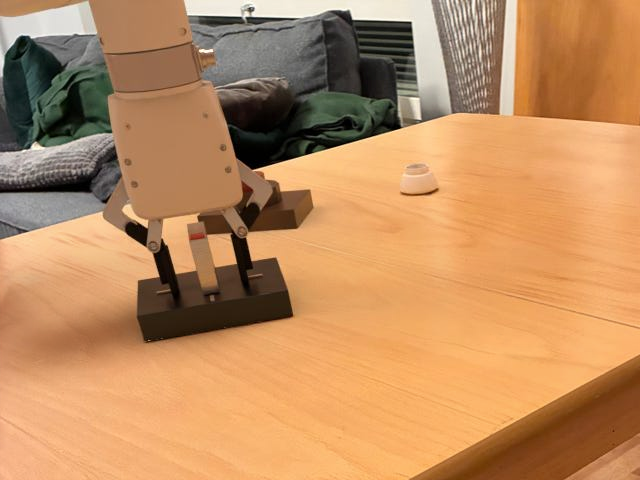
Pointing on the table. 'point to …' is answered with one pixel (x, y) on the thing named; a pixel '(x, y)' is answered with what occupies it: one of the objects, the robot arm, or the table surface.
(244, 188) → the button
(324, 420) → the table surface
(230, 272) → the lever switch base
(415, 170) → the white jar
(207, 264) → the grey switch lever
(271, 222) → the button block
